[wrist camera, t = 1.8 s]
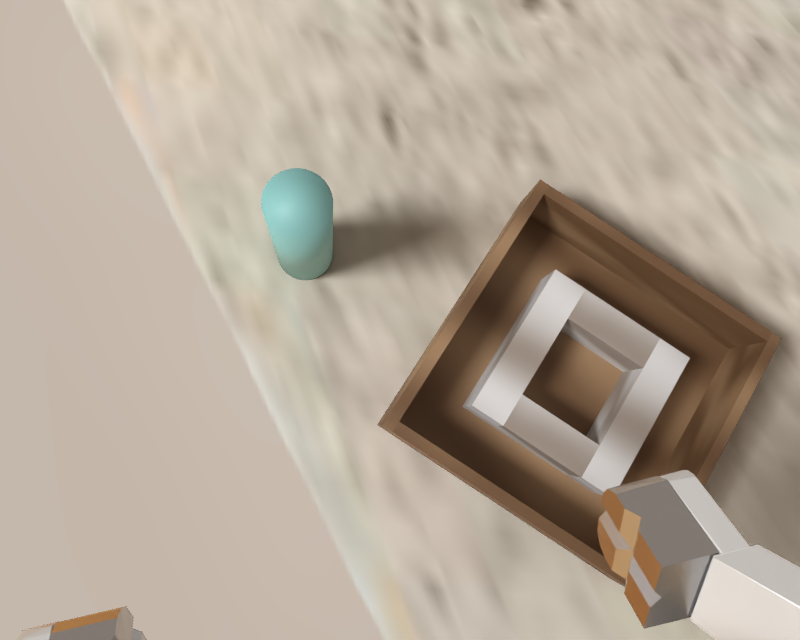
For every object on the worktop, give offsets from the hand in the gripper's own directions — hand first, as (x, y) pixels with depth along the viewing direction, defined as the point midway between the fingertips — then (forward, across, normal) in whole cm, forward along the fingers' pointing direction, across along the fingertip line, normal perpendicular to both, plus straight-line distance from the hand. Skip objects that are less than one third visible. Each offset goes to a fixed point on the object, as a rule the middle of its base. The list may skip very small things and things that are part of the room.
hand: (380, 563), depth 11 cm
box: (+20, -14, +17) cm, 29 cm away
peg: (+27, 0, +9) cm, 29 cm away
